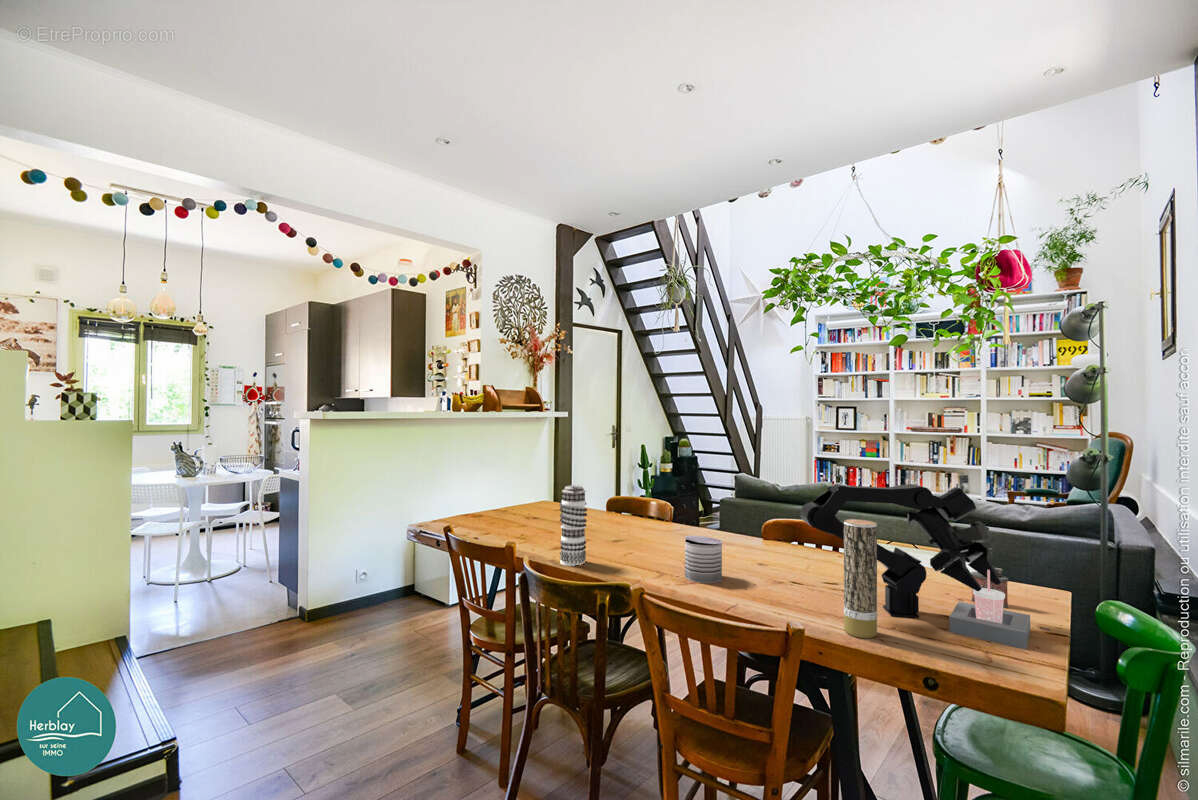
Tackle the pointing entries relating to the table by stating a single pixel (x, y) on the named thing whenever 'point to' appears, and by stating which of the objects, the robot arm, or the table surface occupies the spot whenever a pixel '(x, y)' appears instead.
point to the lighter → (992, 584)
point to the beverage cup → (989, 603)
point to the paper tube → (860, 578)
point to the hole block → (991, 626)
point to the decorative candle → (573, 526)
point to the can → (703, 559)
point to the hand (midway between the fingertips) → (989, 587)
